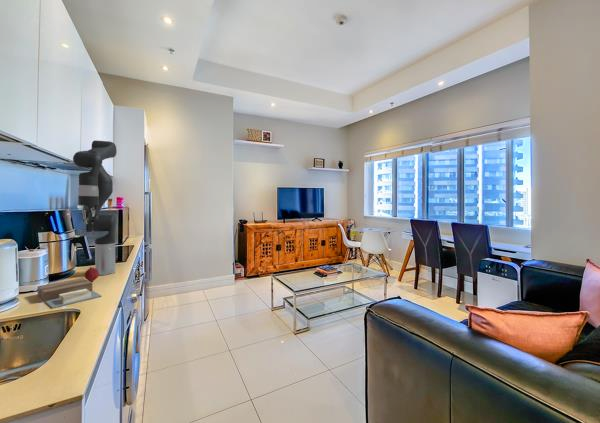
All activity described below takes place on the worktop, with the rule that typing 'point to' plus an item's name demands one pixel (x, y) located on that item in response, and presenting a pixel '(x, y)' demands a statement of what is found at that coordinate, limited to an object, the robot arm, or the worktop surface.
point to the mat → (57, 303)
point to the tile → (74, 296)
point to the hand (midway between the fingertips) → (88, 231)
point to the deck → (62, 288)
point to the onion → (91, 274)
